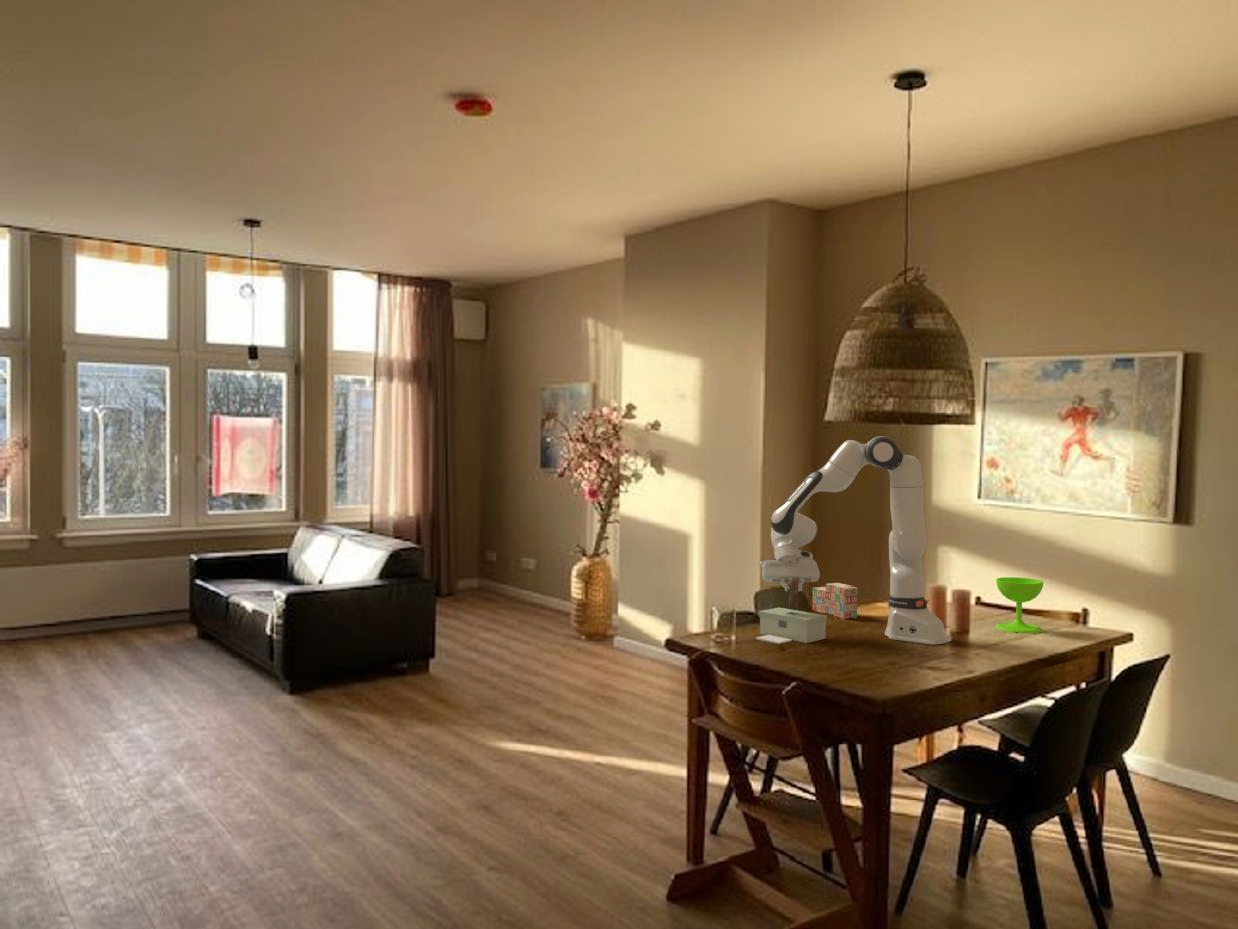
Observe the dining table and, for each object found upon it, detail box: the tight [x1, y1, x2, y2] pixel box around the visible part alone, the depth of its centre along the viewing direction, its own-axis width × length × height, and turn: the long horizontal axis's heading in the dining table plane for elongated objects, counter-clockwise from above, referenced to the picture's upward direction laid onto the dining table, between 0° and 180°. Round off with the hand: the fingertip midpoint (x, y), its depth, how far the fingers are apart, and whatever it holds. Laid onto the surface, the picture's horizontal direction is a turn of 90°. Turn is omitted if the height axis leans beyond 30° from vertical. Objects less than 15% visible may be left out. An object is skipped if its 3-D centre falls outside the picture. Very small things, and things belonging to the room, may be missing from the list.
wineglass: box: [995, 576, 1044, 634], centre depth 335 cm, size 16×16×18 cm
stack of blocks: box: [811, 582, 859, 620], centre depth 363 cm, size 21×6×12 cm, turn 23°
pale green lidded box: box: [758, 607, 828, 644], centre depth 320 cm, size 21×12×8 cm, turn 42°
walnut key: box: [788, 577, 799, 610], centre depth 320 cm, size 3×3×11 cm
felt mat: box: [755, 635, 793, 645], centre depth 313 cm, size 10×7×1 cm
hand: (793, 590), depth 319 cm, fingers closed on walnut key, 3 cm apart
